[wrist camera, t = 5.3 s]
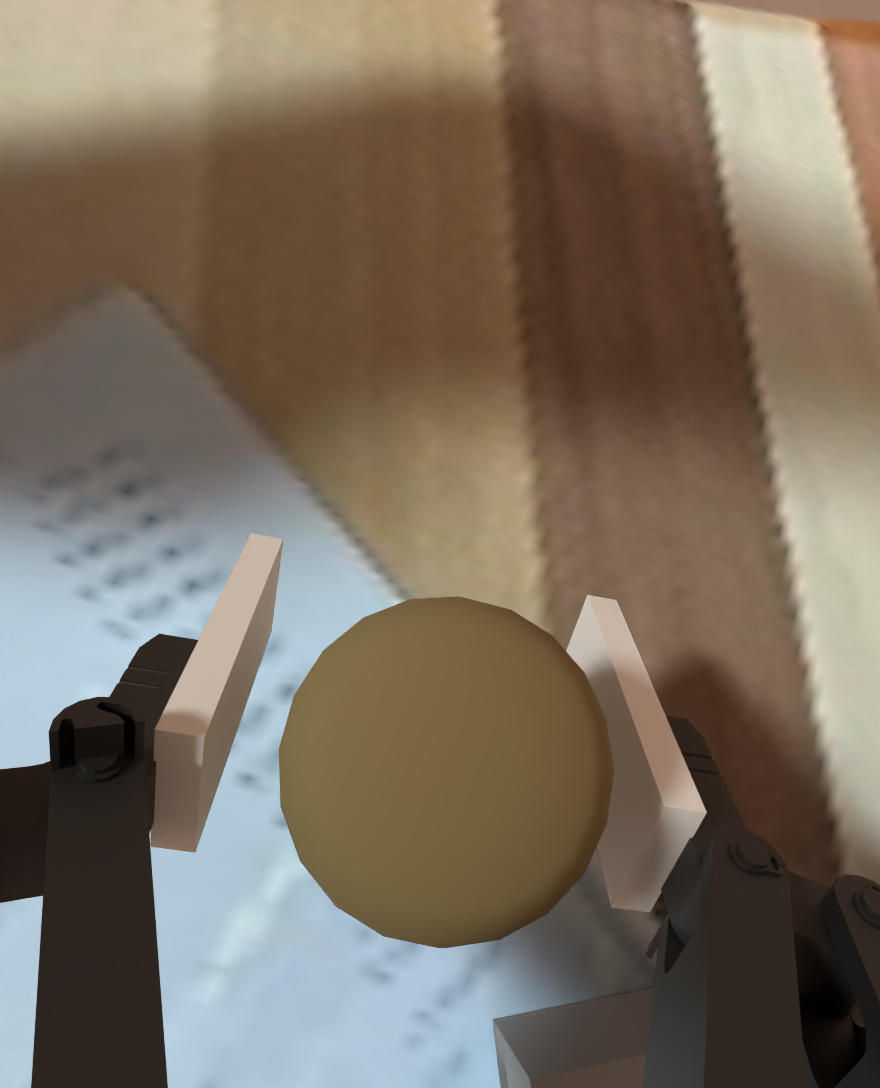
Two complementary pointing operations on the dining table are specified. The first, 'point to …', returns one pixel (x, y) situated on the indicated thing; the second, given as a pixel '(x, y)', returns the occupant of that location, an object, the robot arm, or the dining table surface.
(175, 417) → the dining table surface
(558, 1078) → the tray
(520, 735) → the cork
